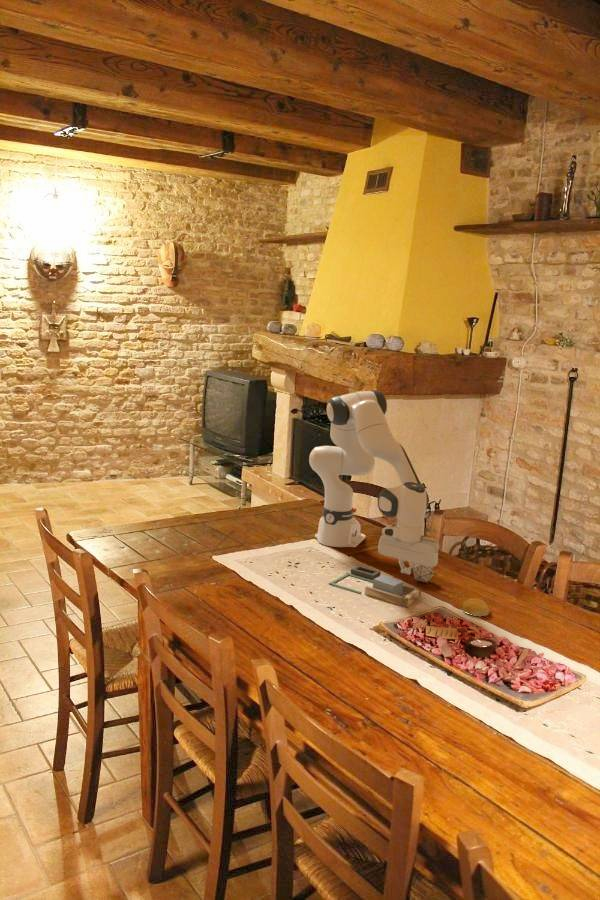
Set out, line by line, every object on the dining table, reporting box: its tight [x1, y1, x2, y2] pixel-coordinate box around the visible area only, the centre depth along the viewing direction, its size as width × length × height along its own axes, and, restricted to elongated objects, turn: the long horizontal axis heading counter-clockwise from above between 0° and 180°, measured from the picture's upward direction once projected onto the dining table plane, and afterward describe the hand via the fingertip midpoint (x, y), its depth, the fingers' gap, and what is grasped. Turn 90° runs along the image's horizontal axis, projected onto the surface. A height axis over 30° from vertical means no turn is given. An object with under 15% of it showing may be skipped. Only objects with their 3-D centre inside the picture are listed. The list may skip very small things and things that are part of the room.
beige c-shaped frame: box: [364, 583, 422, 608], centre depth 245 cm, size 11×15×2 cm
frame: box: [328, 572, 373, 594], centre depth 253 cm, size 13×12×1 cm
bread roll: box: [462, 597, 490, 618], centre depth 236 cm, size 8×9×4 cm
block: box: [372, 574, 404, 596], centre depth 246 cm, size 6×8×5 cm
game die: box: [411, 564, 437, 585], centre depth 258 cm, size 9×8×10 cm
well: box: [350, 564, 381, 581], centre depth 261 cm, size 5×9×2 cm, turn 57°
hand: (405, 573), depth 241 cm, fingers closed
